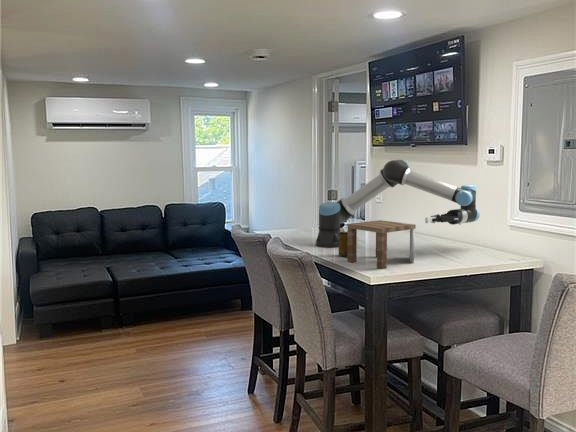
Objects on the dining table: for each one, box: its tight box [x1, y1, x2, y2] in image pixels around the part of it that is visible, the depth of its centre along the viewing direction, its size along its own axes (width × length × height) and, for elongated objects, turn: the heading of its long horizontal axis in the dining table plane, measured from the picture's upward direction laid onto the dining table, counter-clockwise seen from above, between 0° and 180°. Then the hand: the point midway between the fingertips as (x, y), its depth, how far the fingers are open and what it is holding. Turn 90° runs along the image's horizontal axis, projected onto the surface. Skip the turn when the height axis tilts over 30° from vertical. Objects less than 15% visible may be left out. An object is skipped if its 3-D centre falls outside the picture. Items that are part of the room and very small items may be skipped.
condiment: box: [334, 231, 348, 258], centre depth 274 cm, size 7×8×12 cm
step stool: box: [346, 219, 417, 270], centre depth 257 cm, size 22×22×18 cm
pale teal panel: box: [409, 229, 416, 263], centre depth 261 cm, size 2×15×15 cm, turn 167°
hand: (426, 220), depth 267 cm, fingers closed
